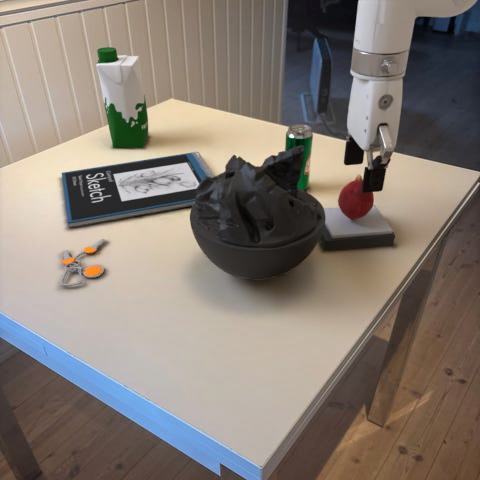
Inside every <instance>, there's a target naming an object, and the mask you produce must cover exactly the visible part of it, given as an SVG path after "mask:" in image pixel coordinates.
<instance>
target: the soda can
mask: <svg viewBox="0 0 480 480" xmlns="http://www.w3.org/2000/svg"><path fill="white" fill-rule="evenodd" d="M313 140H314V134H313V131H312V127H311V126H310V125H307V124H303V123H301V124H300V123H297V124H292V125H289V126H288V128H287V131H286V133H285V145H284V151H287V150H290V149H292V148H294V147H297V146H300V145H303V146H304V150H305V151H304V157H303V168H302V170H301V175H300V180H299V182H298V186H297V188H298V189H301V190H303V191H306V190H307V189H308V188H309V182H310V173H311V162H312V150H313Z"/></svg>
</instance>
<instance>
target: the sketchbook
mask: <svg viewBox="0 0 480 480" xmlns="http://www.w3.org/2000/svg"><path fill="white" fill-rule="evenodd" d="M206 176H207V177H215V176H216V175H215V174H214V172H213V171H212V169H211V168H210V166H209V165H208V163H207V162H206V160H205V159H204V157H203V156H202V155H201V153H200V152H199V151H192V152H186V153H181V154H180V153H179V154H174V155H173V154H172V155H167V156H160V157H155V158H147V159H142V160H135V161H129V162H122V163H116V164H108V165H102V166H98V167H90V168H83V169H76V170H70V171H64V172H61V178H62V180H61V181H62V186H63V195H64V203H65V208H66V217H67V224H68V227H69V229H73V228H78V227H83V226H84V227H85V226H88V225H94V224H99V223H105V222H111V221H117V220H123V219H127V218H134V217H139V216H143V215H144V216H145V215H150V214H155V213H160V212H166V211H171V210H172V211H173V210H178V209H182V208H188V207H192V206H193V205H194V203H195V200H196V198H195V197H196V189H197V187H198V185H199V184H200V182H201V181H202V180H203V179H204V177H206Z"/></svg>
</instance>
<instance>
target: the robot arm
mask: <svg viewBox="0 0 480 480" xmlns="http://www.w3.org/2000/svg"><path fill="white" fill-rule="evenodd" d="M477 2H478V0H358V1H357V9H356V19H355V27H354V29H355V30H354V36H353V46H352V52H351V53H352V55H351V64H350V75H351V76H353V78H352V83H351V89H350V96H349V101H348V110H347V119H346V127H347V132H346V133H345V134H346V135H345V139H346V141H345V148H344V155H343V164H344V165H345V166H356V165H362V164H363V163H364V159H365V158H364V157H365V152H366V164H367V166H364V170H363V176H362V177H363V178H362V179H363V183H362V191H363V192H364V193H368V192H373V193H378V192H382V191H383V189H384V185H385V179H386V174H387V169H388V167H389V164H390V162H391V160H392V155H393V153H394V151H395V148H396V146H397V142H398V141H397V140H398V136H399V135H398V134H399V129H400V121H401V112H402V103H403V85H404V83H403V82H404V81H403V78H404V77H405V75H406V70H407V66H408V65H407V64H408V59H409V54H410V49H411V43H412V39H413V33H414V28H415V22H416V19H417V18H418V17H419V18H420V17H427V18H429V17H430V18H451V17H456V16H458V15H461V14H463V13H465V12H466V11H468V10H470V9H471V8H472V7H473V6H474V5H475V4H476V3H477ZM372 145H374V146H372ZM373 153H379V154H378V155H376V156H375V157H374V154H373Z"/></svg>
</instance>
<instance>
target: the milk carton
mask: <svg viewBox="0 0 480 480" xmlns="http://www.w3.org/2000/svg"><path fill="white" fill-rule="evenodd" d="M96 52H97V57H98V58H97V59H98V60H97V63H96V64H95V68H96V71H97V72H96V73H97V74H98V79H99V84H100V89H101V94H102V100H103V104H104V110H105V115H106V121H107V125H108V129H109V130H108V131H109V134H110V139H111V143H112V147H113V148H114V149H115V148H117V149H118V148H119V149H121V148H122V149H123V148H124V149H128V148H129V149H137V148H138V149H143V148H144V147H145V145H146V142H147V140H148V138H149V117H148V116H149V115H148V109H147V102H146V101H147V100H146V93H145V86H144V79H143V73H142V65H141V60H140V56H139V55H128V54H123V55H118V52H117V48H116V47H113V46H112V47H111V46H110V47H108V46H107V47H106V46H105V47H100V48H98V49H97V50H96Z"/></svg>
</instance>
